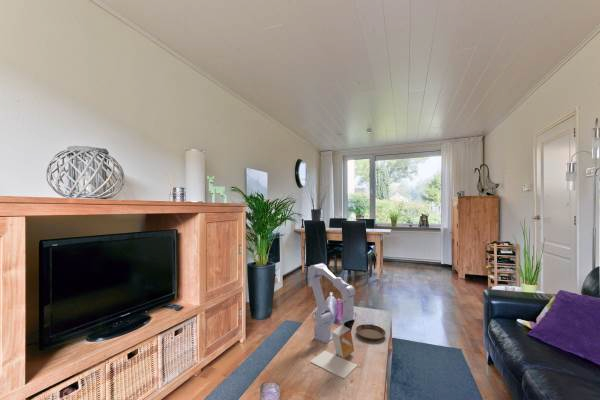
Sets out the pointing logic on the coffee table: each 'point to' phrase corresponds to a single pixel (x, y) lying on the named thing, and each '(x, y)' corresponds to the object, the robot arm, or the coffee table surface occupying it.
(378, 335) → the plant saucer
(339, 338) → the small box
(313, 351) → the coffee table surface
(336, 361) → the mat
